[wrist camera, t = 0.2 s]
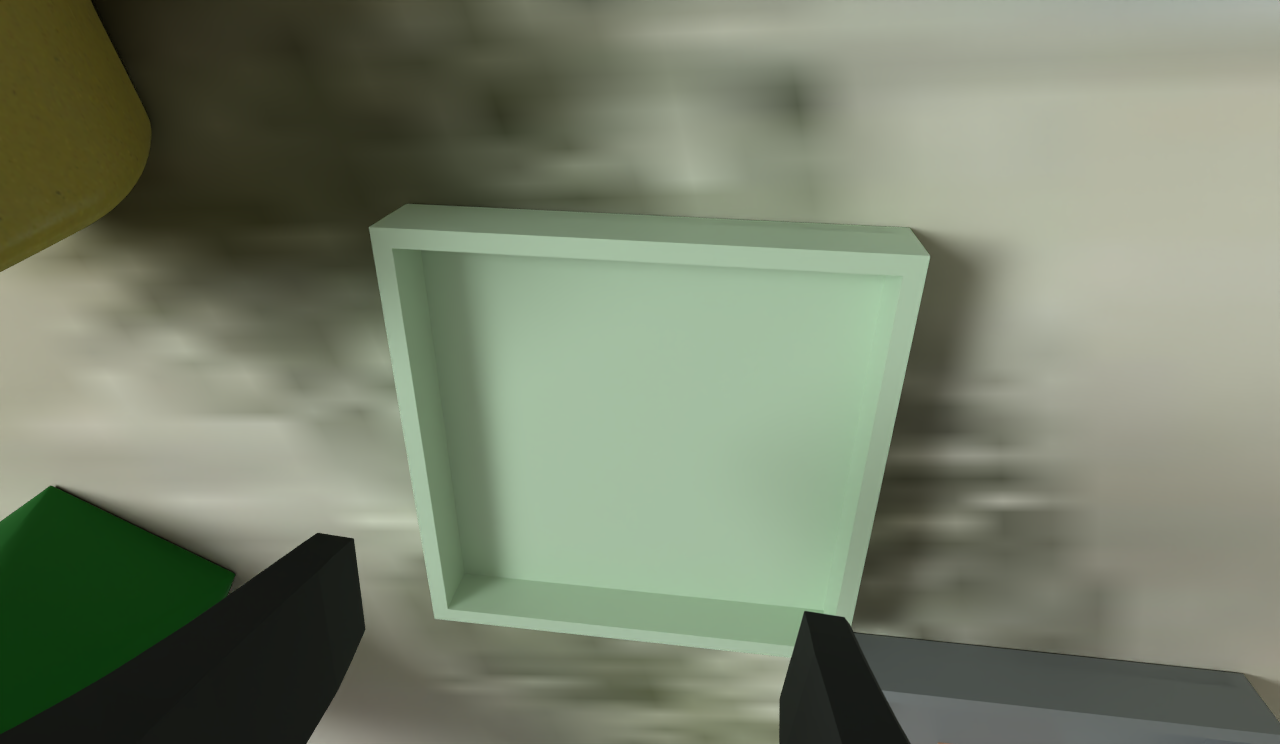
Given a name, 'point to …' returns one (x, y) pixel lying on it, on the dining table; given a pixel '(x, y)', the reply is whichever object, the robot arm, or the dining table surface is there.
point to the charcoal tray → (1059, 698)
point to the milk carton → (86, 598)
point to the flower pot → (62, 125)
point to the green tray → (645, 414)
